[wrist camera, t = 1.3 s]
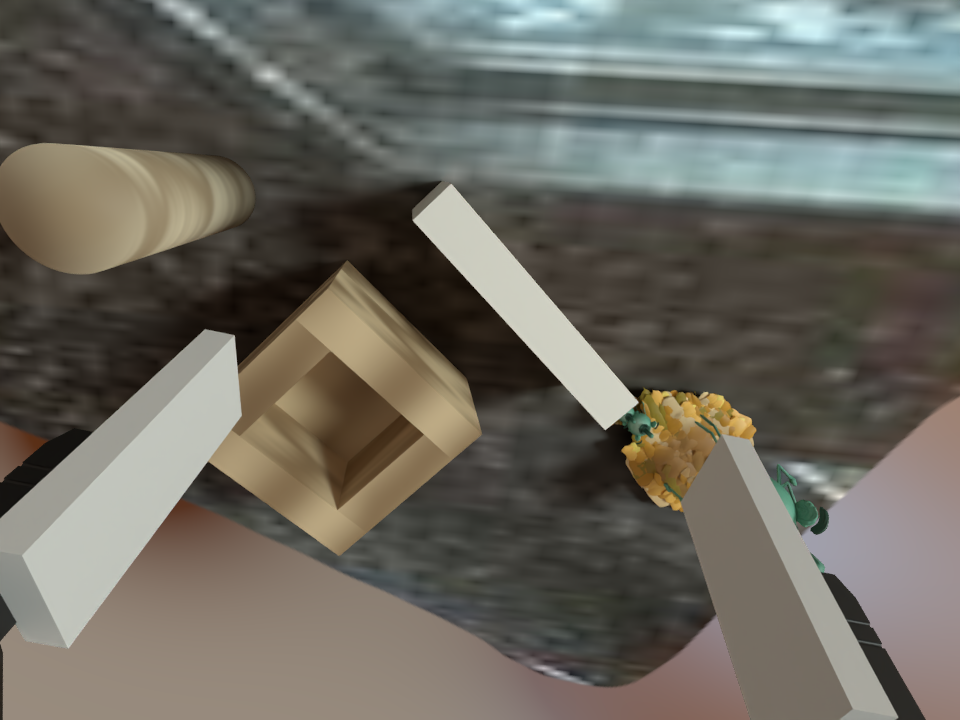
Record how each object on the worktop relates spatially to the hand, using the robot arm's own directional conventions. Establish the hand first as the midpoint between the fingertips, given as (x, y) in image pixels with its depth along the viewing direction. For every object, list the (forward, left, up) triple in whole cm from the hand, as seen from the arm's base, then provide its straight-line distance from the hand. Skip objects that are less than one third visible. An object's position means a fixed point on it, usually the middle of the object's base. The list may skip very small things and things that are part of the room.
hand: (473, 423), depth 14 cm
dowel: (-12, -6, -20) cm, 24 cm away
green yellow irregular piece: (+22, +5, -20) cm, 30 cm away
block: (+1, -9, -20) cm, 22 cm away
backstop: (+4, +3, -20) cm, 21 cm away
